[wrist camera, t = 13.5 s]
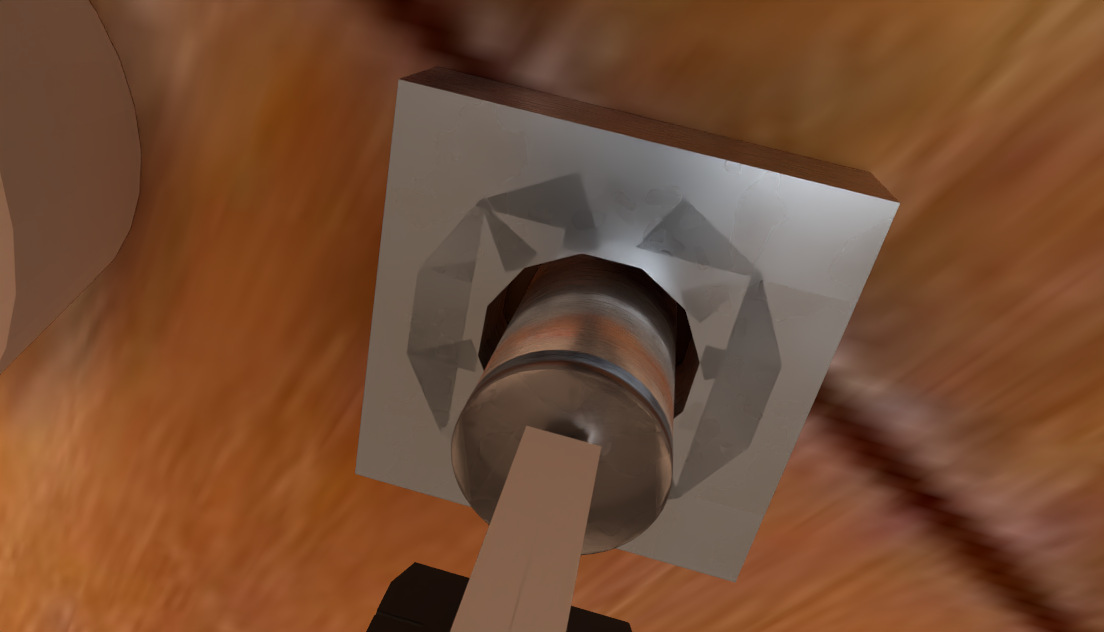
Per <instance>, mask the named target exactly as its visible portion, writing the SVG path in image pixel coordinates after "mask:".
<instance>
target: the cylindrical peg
mask: <svg viewBox="0 0 1104 632" xmlns="http://www.w3.org/2000/svg"><path fill="white" fill-rule="evenodd" d="M676 324H677V307H676V300H675V299H673V298H672V297H671V296H670V295H669V294H668V293H667V292H666V291H665V290H664V289H663V288H662V287H661V286H660V285H659V284H658V283H656V282H655V281H654V280H653V279H652V278H651V277H650V276H649V275H648V274H647V273H646V272H645V271H644V270H643V269H641V268H637V267H633V266H629V265H626V264H622V263H618V262H614V261H610V260H606V259H602V258H599V257H595V256H591V255H587V254H583V253H581V254H577V255H573V256H569V257H565V258H561V259H557V260H553V261H549V262H545V263H543V264H542V265H541V266H540V268H539V269H538V270H537V272H536V274H535V275H534V277H533V279H532V281H531V283H530V285H529V286H528V288H527V290H526V292H525V294H524V296H523V298H522V300H521V302H520V304H519V305H518V307H517V309H516V311H515V313H514V315H513V317H512V319H511V321H510V323H509V325H508V326H507V328H506V330H505V332H504V334H503V336H502V338H501V340H500V342H499V344H498V345H497V347H496V349H495V351H494V353H493V355H492V357H491V359H490V361H489V363H488V364H487V366H486V368H485V370H484V372H483V374H482V376H481V378H480V380H479V382H478V383H477V385H476V387H475V389H474V390H473V392H472V393H471V395H470V397H469V399H468V400H467V402H466V404H465V406H464V408H463V410H462V412H461V414H460V416H459V418H458V420H457V423H456V425H455V428H454V432H453V435H452V442H451V462H452V467H453V471H454V475H455V478H456V481H457V483H458V486H459V488H460V490H461V492H462V493H463V495H464V497H465V498H466V500H467V501H468V503H469V504H470V506H471V507H472V508H473V509H474V510H475V512H476V513H477V514H478V515H479V516H480V517H481V518H482V519H483V520H484V521H485V522H486V523H488V524H489V525H490V522H491V520H492V517H493V514H494V512H495V509H496V506H497V504H498V501H499V498H500V495H501V493H502V490H503V487H504V485H505V482H506V479H507V477H508V474H509V471H510V468H511V466H512V463H513V460H514V458H515V455H516V452H517V450H518V447H519V444H520V441H521V439H522V436H523V433H524V431H525V428H526V426H530V427H533V428H537V429H540V430H544V431H548V432H551V433H555V434H558V435H562V436H566V437H569V438H573V439H577V440H580V441H584V442H587V443H591V444H595V445H598V446H601V451H600V457H599V462H598V467H597V472H596V477H595V483H594V488H593V493H592V498H591V504H590V509H589V514H588V519H587V525H586V530H585V535H584V540H583V546H582V551H581V555H587V554H595V553H600V552H605V551H608V550H611V549H614V548H617V547H619V546H622V545H624V544H626V543H628V542H630V541H632V540H633V539H635V538H636V537H638V536H639V535H641V534H642V533H643V532H644V531H646V530H647V529H648V528H649V527H650V526H651V525H652V524H653V523H654V521H655V520H656V519H657V518H658V516H659V515H660V513H661V512H662V510H663V509H664V506H665V504H666V502H667V500H668V497H669V494H670V490H671V486H672V476H673V418H674V387H675V356H676Z"/></svg>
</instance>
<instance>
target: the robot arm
mask: <svg viewBox="0 0 1104 632" xmlns="http://www.w3.org/2000/svg"><path fill="white" fill-rule="evenodd" d="M600 451H601V446H598V445H595V444H591V443H587V442H584V441H580V440H577V439H573V438H569V437H566V436H562V435H558V434H555V433H551V432H548V431H544V430H540V429H537V428H533V427H530V426H526V428H525V431H524V433H523V436H522V439H521V441H520V444H519V447H518V450H517V452H516V455H515V458H514V460H513V463H512V466H511V468H510V471H509V474H508V477H507V479H506V482H505V485H504V487H503V490H502V493H501V495H500V498H499V501H498V504H497V506H496V509H495V512H494V514H493V517H492V520H491V522H490V525H489V528H488V531H487V533H486V536H485V539H484V541H483V544H482V547H481V549H480V552H479V555H478V558H477V560H476V563H475V566H474V568H473V571H472V574H471V577H470V578H467V577H464V576H460V575H457V574H454V573H450V572H447V571H443V570H440V569H436V568H433V567H430V566H426V565H423V564H419V563H416V562H415V563H414V564H412V565H411V566H410V567H409V568H408V569H406V570H405V571H404V572H403V573H402V574H400V575H399V576H398V577H397V578H396V579H394V580H393V581H392V582H391V583H390V585H389V587H388V589H387V591H386V593H385V595H384V597H383V599H382V601H381V603H380V605H379V607H378V609H377V612H376V615H374V617H373V619H372V621H371V623H370V625H369V627H368V629H367V631H366V632H632V630H631V627H630V624H629V623H628V622H625V621H621V620H618V619H614V618H611V617H608V616H604V615H601V614H597V613H594V612H590V611H587V610H584V609H580V608H577V607H573V606H571V603H572V598H573V593H574V587H575V582H576V577H577V572H578V567H579V561H580V556H581V551H582V546H583V540H584V535H585V530H586V525H587V519H588V514H589V509H590V504H591V498H592V493H593V488H594V483H595V477H596V472H597V467H598V462H599V457H600Z"/></svg>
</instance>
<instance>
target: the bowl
mask: <svg viewBox="0 0 1104 632" xmlns="http://www.w3.org/2000/svg"><path fill="white" fill-rule="evenodd" d="M140 169H141V148H140V141H139V134H138V127H137V120H136V113H135V107H134V104H133V101H132V97H131V94H130V91H129V88H128V85H127V82H126V78H125V75H124V72H123V69H122V66H121V63H120V59H119V57H118V55H117V53H116V51H115V49H114V47H113V45H112V43H111V41H110V39H109V37H108V35H107V33H106V31H105V29H104V27H103V25H102V22H101V20H100V18H99V16H98V14H97V12H96V10H95V9H94V7H93V6H92V5H91V3H90V2H89V0H0V374H1V373H2V372H3V371H4V370H5V369H6V368H7V367H8V366H9V365H10V364H11V363H12V362H13V361H14V360H15V359H16V358H17V357H18V356H19V355H20V354H21V353H22V352H23V351H24V350H25V349H26V348H27V347H28V346H29V345H30V344H31V343H32V342H33V341H34V340H35V339H36V338H37V337H38V336H39V335H40V334H41V333H42V332H43V331H44V330H45V329H46V328H47V327H48V326H49V325H50V324H51V323H52V322H53V321H54V320H55V319H56V318H57V317H58V316H59V315H60V314H61V313H62V312H63V311H64V310H65V309H66V308H67V307H68V306H69V305H70V304H71V303H72V302H73V301H74V300H75V299H76V298H77V297H78V296H79V295H80V294H81V293H82V292H83V291H84V290H85V289H86V288H87V287H88V286H89V285H90V284H91V282H92V281H93V280H94V279H95V278H96V277H97V276H98V275H99V274H100V273H101V272H102V271H103V270H104V269H105V268H106V267H107V266H108V265H109V264H110V263H111V262H112V261H113V259H114V258H115V257H116V255H117V253H118V251H119V249H120V247H121V245H122V244H123V242H124V240H125V238H126V236H127V234H128V232H129V231H130V229H131V225H132V221H133V217H134V213H135V209H136V205H137V201H138V197H139V194H140Z"/></svg>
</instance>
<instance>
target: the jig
mask: <svg viewBox="0 0 1104 632" xmlns="http://www.w3.org/2000/svg"><path fill="white" fill-rule="evenodd" d="M899 205H900V203H899V202H898V200H897V199H896V198H895V197H894V196H893V195H892V194H891V193H890V192H889V191H888V190H887V189H886V188H885V187H884V186H883V185H882V184H881V183H880V182H879V181H878V180H877V179H876V178H875V177H874V176H873V175H872V174H871V173H870V172H866V171H862V170H857V169H853V168H849V167H845V166H841V165H837V164H833V163H829V162H825V161H821V160H817V159H813V158H808V157H804V156H800V155H796V154H792V153H788V152H784V151H780V150H776V149H772V148H768V147H764V146H760V145H755V144H751V143H747V142H743V141H739V140H735V139H731V138H727V137H723V136H719V135H715V134H711V133H706V132H702V131H698V130H694V129H690V128H686V127H682V126H678V125H674V124H670V123H666V122H662V121H658V120H653V119H649V118H645V117H641V116H637V115H633V114H629V113H625V112H621V111H617V110H613V109H609V108H604V107H600V106H596V105H592V104H588V103H584V102H580V101H576V100H572V99H568V98H564V97H560V96H556V95H551V94H547V93H543V92H539V91H535V90H531V89H527V88H523V87H519V86H515V85H511V84H507V83H502V82H498V81H494V80H490V79H486V78H482V77H478V76H474V75H470V74H466V73H462V72H458V71H454V70H449V69H445V68H441V67H435V68H432V69H428V70H425V71H422V72H419V73H416V74H413V75H410V76H407V77H404V78H401V79H399V80H398V89H397V98H396V107H395V116H394V125H393V134H392V143H391V152H390V161H389V170H388V179H387V189H386V198H385V207H384V216H383V225H382V234H381V243H380V252H379V261H378V270H377V279H376V288H375V297H374V306H373V316H372V325H371V334H370V343H369V352H368V361H367V370H366V379H365V388H364V397H363V406H362V415H361V424H360V433H359V443H358V452H357V461H356V470H355V474H358V475H361V476H365V477H368V478H372V479H375V480H379V481H382V482H386V483H389V484H393V485H396V486H400V487H403V488H407V489H410V490H414V491H417V492H421V493H424V494H428V495H431V496H435V497H438V498H442V499H445V500H449V501H452V502H456V503H459V504H463V505H466V506H470V504H469V503H468V501H467V500H466V498H465V497H464V495H463V493H462V492H461V490H460V488H459V486H458V483H457V481H456V478H455V475H454V471H453V467H452V462H451V442H452V435H453V432H454V428H455V425H456V423H457V420H458V418H459V416H460V414H461V412H462V410H463V408H464V406H465V404H466V402H467V400H468V399H469V397H470V395H471V393H472V392H473V390H474V389H475V387H476V385H477V383H478V382H479V380H480V378H481V376H482V374H483V372H484V370H485V368H486V366H487V364H488V363H489V361H490V359H491V357H492V355H493V353H494V351H495V349H496V347H497V345H498V344H499V342H500V340H501V338H502V336H503V334H504V332H505V330H506V328H507V326H508V325H507V322H506V319H505V317H504V314H503V309H504V304H505V299H506V293H507V288H508V284H509V283H510V282H511V281H512V280H513V279H514V278H515V277H516V276H517V275H518V274H519V273H520V272H521V271H522V270H523V269H524V268H525V267H529V266H533V265H537V264H541V263H545V262H549V261H553V260H557V259H561V258H565V257H569V256H573V255H577V254H581V253H583V254H587V255H591V256H595V257H599V258H602V259H606V260H610V261H614V262H618V263H622V264H626V265H629V266H633V267H637V268H641V269H643V270H644V271H645V272H646V273H647V274H648V275H649V276H650V277H651V278H652V279H653V280H654V281H655V282H656V283H658V284H659V285H660V286H661V287H662V288H663V289H664V290H665V291H666V292H667V293H668V294H669V295H670V296H671V297H672V298H673V299H675V300H676V301H677V302H678V303H679V304H680V305H681V306H682V307H683V308H684V309H685V310H686V314H687V317H688V321H689V325H690V328H691V332H692V338H691V341H690V344H689V347H688V350H687V353H686V356H685V359H684V361H683V362H681V363H680V364H679V365H678V366H677V367H675V387H674V418H673V476H672V486H671V490H670V494H669V497H668V500H667V502H666V504H665V506H664V509H663V510H662V512H661V513H660V515H659V516H658V518H657V519H656V520H655V521H654V523H653V524H652V525H651V526H650V527H649V528H648V529H647V530H646V531H644V532H643V533H642V534H641V535H639V536H638V537H636V538H635V539H633V540H632V541H630V542H628V543H626V544H624V545H622V546H619V547H617V549H620V550H624V551H627V552H631V553H634V554H638V555H641V556H645V557H648V558H652V559H655V560H659V561H662V562H666V563H669V564H673V565H676V566H680V567H683V568H687V569H690V570H694V571H697V572H701V573H704V574H708V575H711V576H715V577H718V578H722V579H725V580H729V581H732V582H736V580H737V577H738V575H739V573H740V570H741V568H742V566H743V563H744V561H745V559H746V557H747V554H748V552H749V550H750V547H751V545H752V543H753V540H754V538H755V536H756V534H757V531H758V529H759V527H760V524H761V522H762V520H763V517H764V515H765V513H766V511H767V508H768V506H769V504H770V501H771V499H772V497H773V494H774V492H775V490H776V488H777V485H778V483H779V481H780V478H781V476H782V474H783V471H784V469H785V467H786V465H787V462H788V460H789V458H790V455H791V453H792V451H793V448H794V446H795V444H796V441H797V439H798V437H799V435H800V432H801V430H802V428H803V425H804V423H805V421H806V418H807V416H808V414H809V412H810V409H811V407H812V405H813V402H814V400H815V398H816V395H817V393H818V391H819V389H820V386H821V384H822V382H823V379H824V377H825V375H826V372H827V370H828V368H829V366H830V363H831V361H832V359H833V356H834V354H835V352H836V349H837V347H838V345H839V343H840V340H841V338H842V336H843V333H844V331H845V329H846V326H847V324H848V322H849V320H850V317H851V315H852V313H853V310H854V308H855V306H856V303H857V301H858V299H859V297H860V294H861V292H862V290H863V287H864V285H865V283H866V280H867V278H868V276H869V274H870V271H871V269H872V267H873V264H874V262H875V260H876V257H877V255H878V253H879V251H880V248H881V246H882V244H883V241H884V239H885V237H886V234H887V232H888V230H889V228H890V225H891V223H892V221H893V218H894V216H895V214H896V211H897V209H898V207H899ZM470 507H471V506H470Z"/></svg>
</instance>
